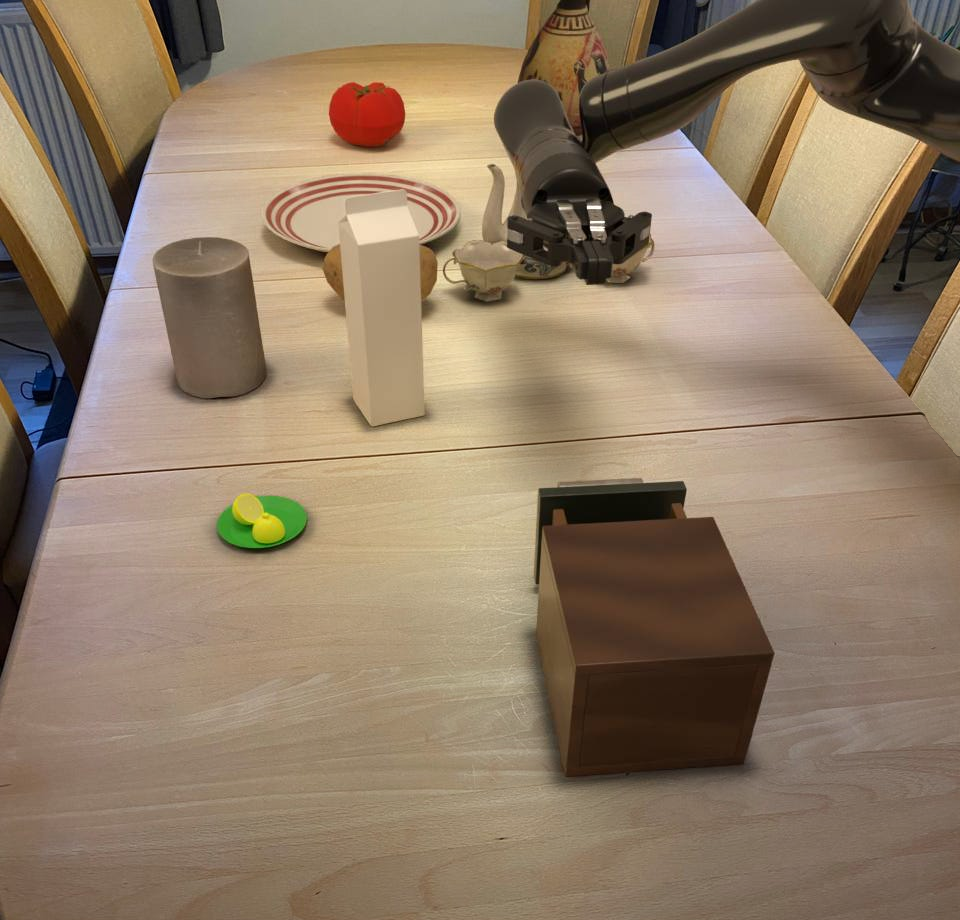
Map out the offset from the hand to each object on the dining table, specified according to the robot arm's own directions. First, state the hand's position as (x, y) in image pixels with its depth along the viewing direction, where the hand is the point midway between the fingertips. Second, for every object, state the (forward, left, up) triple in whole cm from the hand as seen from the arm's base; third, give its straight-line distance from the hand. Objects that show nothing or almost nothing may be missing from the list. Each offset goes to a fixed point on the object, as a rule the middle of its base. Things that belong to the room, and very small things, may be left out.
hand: (597, 273), depth 81 cm
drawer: (0, +16, -21) cm, 26 cm away
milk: (+17, -19, -22) cm, 34 cm away
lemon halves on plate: (+29, +1, -22) cm, 37 cm away
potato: (+17, -43, -22) cm, 51 cm away
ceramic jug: (-15, -103, -22) cm, 106 cm away
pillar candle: (+35, -27, -22) cm, 49 cm away
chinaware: (-4, -51, -22) cm, 56 cm away
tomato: (+17, -107, -22) cm, 111 cm away
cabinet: (0, +25, -22) cm, 33 cm away
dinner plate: (+19, -68, -22) cm, 74 cm away
